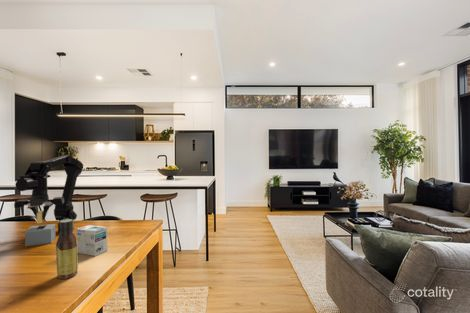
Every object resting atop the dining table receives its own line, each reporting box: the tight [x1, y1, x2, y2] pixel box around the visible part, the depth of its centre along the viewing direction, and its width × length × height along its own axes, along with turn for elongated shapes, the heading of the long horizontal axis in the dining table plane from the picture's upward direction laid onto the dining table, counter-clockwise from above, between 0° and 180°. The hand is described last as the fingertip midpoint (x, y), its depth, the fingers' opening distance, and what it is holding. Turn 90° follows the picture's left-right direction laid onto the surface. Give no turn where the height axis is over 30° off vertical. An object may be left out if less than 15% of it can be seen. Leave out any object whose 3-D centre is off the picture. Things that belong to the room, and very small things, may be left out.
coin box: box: [24, 223, 57, 247], centre depth 126 cm, size 10×9×7 cm
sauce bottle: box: [55, 219, 79, 280], centre depth 92 cm, size 6×6×20 cm
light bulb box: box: [76, 224, 108, 257], centre depth 113 cm, size 11×7×11 cm, turn 71°
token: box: [36, 210, 46, 224], centre depth 126 cm, size 2×5×5 cm, turn 24°
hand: (40, 219), depth 126 cm, fingers closed on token, 2 cm apart
